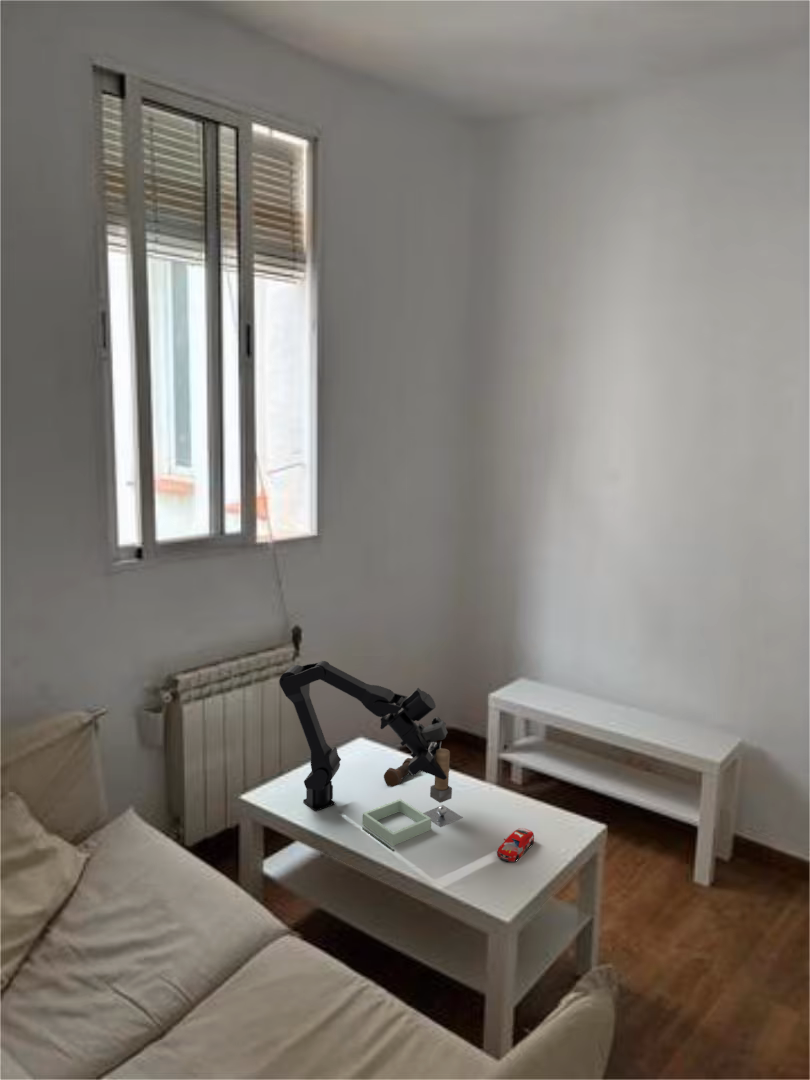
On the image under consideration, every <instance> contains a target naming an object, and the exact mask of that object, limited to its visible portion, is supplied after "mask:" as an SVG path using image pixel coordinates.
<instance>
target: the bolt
mask: <svg viewBox="0 0 810 1080" xmlns="http://www.w3.org/2000/svg"><path fill="white" fill-rule="evenodd" d="M412 759H413V757H407V758H405V759H404V761H403V762H402V764H401V765H400V766H399V767H397V768H393V767H388V768H387V770H386V771H385V773H384V774H383V779H384V782H385V784H386V786H389V787H391V788H394V787H397V786H399V785H400V784H401V783H402V782H403V778H405V777H406V776H408V775H412V774H411V773H410V772H409V771H408V765H409V763H410V761H411V760H412Z"/></svg>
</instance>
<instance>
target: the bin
mask: <svg viewBox="0 0 810 1080" xmlns="http://www.w3.org/2000/svg"><path fill="white" fill-rule="evenodd" d="M399 812H400V813H401V814H402V815H405V817H407V818H409V819H411V820H413V821H414V822H415V823H412V824H410V825H408V826H405V827H403V828H400V829H398V830H395V831H393V830H392V829H389V828H388V827H386V825H384V824H382V823H381V822H379V820H382V819H384V818H386V817H389V816H392V815H394V814H396V813H399ZM423 813H424V812H422V811H420V810H418V808H416V807H414V806H412V805H411V804H410V803H408V802H406V801H405V800H403V799H402V798H399V799H396V800H393V801H391V802H388V803H385V804H383V805H380V806H379V807H376V808H372V809H371V810H370V809H369V810H368V811H365V812H362V822H361V823H362V825H363V826H362V828H361V830H362V831H364V832H365V833H367V834H368V835H369V834H370V835H369V836H371V837H372V838H373V839H375V840H376V841H377V842H379V843H380V844H381V845H383V846H385V848H386V849H388V850H390V851H391V852H394V851H396V850H395V849H394V848H393V847H394V846H396V845H398V844H400V843H403V842H405V841H408V840H410V839H412V838H414V837H417V836H419V835H422V834H424V833H426V832H428V831H431V830H432V821H431V818H430V817H428V816H427V815H425V814H423ZM365 827H366V828H367V829H366V828H365ZM369 830H370V831H371V832H370V831H369ZM373 833H374V834H375V835H374V834H373ZM376 835H377V836H378V837H377V836H376ZM382 839H383V840H384V841H383V840H382ZM386 842H387V843H386ZM389 844H390V845H389ZM391 846H392V847H391Z"/></svg>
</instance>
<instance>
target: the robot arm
mask: <svg viewBox="0 0 810 1080" xmlns="http://www.w3.org/2000/svg"><path fill="white" fill-rule="evenodd" d="M317 681H322V682H324V683H326V684H328V685H329V686H332V687H334V688H335V689H337V690H339V691H340V692H343V693H344V694H347V695H348V696H351V697H352V698H354V699H356V700H358V701H359V702H360V703H361V704H362V706H364V709H366V710H367V711H369V712H370V713H372V714H373V715H374V716H375V717H378V718H380V729H381V730H383V729H385V727H387V726H388V727H389V728H390V729H391V730H392V732H394V733H395V735H396V736H397V737H398V738H399V739H400V740H401V741H400V745H401V746H402V747H404V746H406V747H407V748H408V749H409V750H410V752H411V753H410V756H411V758H413V759H412V760H411V761H410V763H409V765H408V771H409V772H410V773H411V774H410V775H411V776H413V777H414V776H415V775H417V774H418V773H419V772H423V773H426V774H429V775H432V776H434V777H435V776H436V777H438V778H441V779H443V780H445V779H446V778H447V776H446V774H445V773H444V771H443V770H442V768H441V767H440V766H439V764H438V763H437V761H436V750H437V749H442V747H441V746H442V740H445V739H446V737H447V734H449V732H448V730H447V727H446V725H447V723H446V722H445V721H444V720H443V719H441V718H440V717H439V716H436V717H433V718H432V720H431V723H429V724H428V725H427V726H424V725H423V724H422V723H418V724H417V723H416V722H419V721H421V720H422V719H424V718H425V717H426V716H427V715H428V714H430V713H431V712H432V711H433V710H435V708H436V703H435V700H434V698H433V697H432V696H431V695H430V693H427V691H424V690H421V688H419V687H417V688H415V689H414V690H413V692H412V693H410V694H409V696H406V695H403V694H400V693H395V692H394V691H392V690H391V689H390V688H387V687H384V686H380V685H378V684H377V685H375V684H369V683H366V682H365V681H362V680H361V679H358V678H356V677H355V676H352V675H351V674H349V673H347V672H345V671H343V670H342V669H339V668H337V667H336V666H334V665H332V664H330V663H329V662H328V661H326V660H321V661H318V662H314V663H313V662H312V663H307V664H305V665H304V664H303V665H299V664H294V665H292V666H290V667H289V668H288V669H287V670H286V671H285V672H284V673H283V674H281V676H280V678H279V681H278V682H279V683H278V684H279V686H280V688H281V690H282V692H283V694H284V696H285V697H286V698H287V699H288V700H289V701H290V702H291V703H292V704H293V707H294V709H295V712H296V715H297V718H298V720H299V723H300V725H301V728H302V731H303V734H304V737H305V739H306V742H307V745H308V748H309V751H310V769H311V771H310V773H308V775H307V777H306V778H305V779H304V780H303V784H304V787H305V789H306V791H305V792H306V796H305V797H306V798H305V799H303V800H302V801H303V803H304V804H305V803H306V804H305V805H307V806H308V807H309V806H310V807H309V808H311V809H312V810H313V809H314V810H313V811H314V812H315V811H316V812H317V810H318V811H319V810H323V809H325V808H328V807H331V806H334V805H335V804H336V802H335V801H334V800H333V797H334V794H333V793H334V786H333V784H332V783H333V781H332V780H333V778H334V777H335V776H336V774H337V772H338V771H339V769H340V766H341V761H342V759H341V757H340V756H339V754H338V753H339V752H338V749H337V747H336V746H335V747H332V748H331V746H330V745H328V743H327V740H326V739H325V735H324V733H323V732H324V731H323V729H322V727H321V725H320V721H319V719H318V716H317V713H316V710H315V707H314V705H313V702H312V699H311V696H310V684H312V683H314V682H317ZM437 741H438V742H437ZM450 771H451V770H450V769H449V772H450Z"/></svg>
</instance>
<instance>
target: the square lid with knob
mask: <svg viewBox="0 0 810 1080" xmlns="http://www.w3.org/2000/svg"><path fill="white" fill-rule="evenodd" d="M422 813H423V814H425V815H427V816H428V817H430V818H431V823H433V824H435V825H437V826H438V827H439V828H442V827H445V826H447V825H449V824H451V823H453V822H456V821H459V820H461V819H463V818H464V817H463V816H462V815H460V814H458V813H457V812H455V811H454V810H451V809H450V808H448V807H447V806H445V805H443V804H442V805H440V806H437V807H434V808H432V809H430V810H428V811H425V812H422Z"/></svg>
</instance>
